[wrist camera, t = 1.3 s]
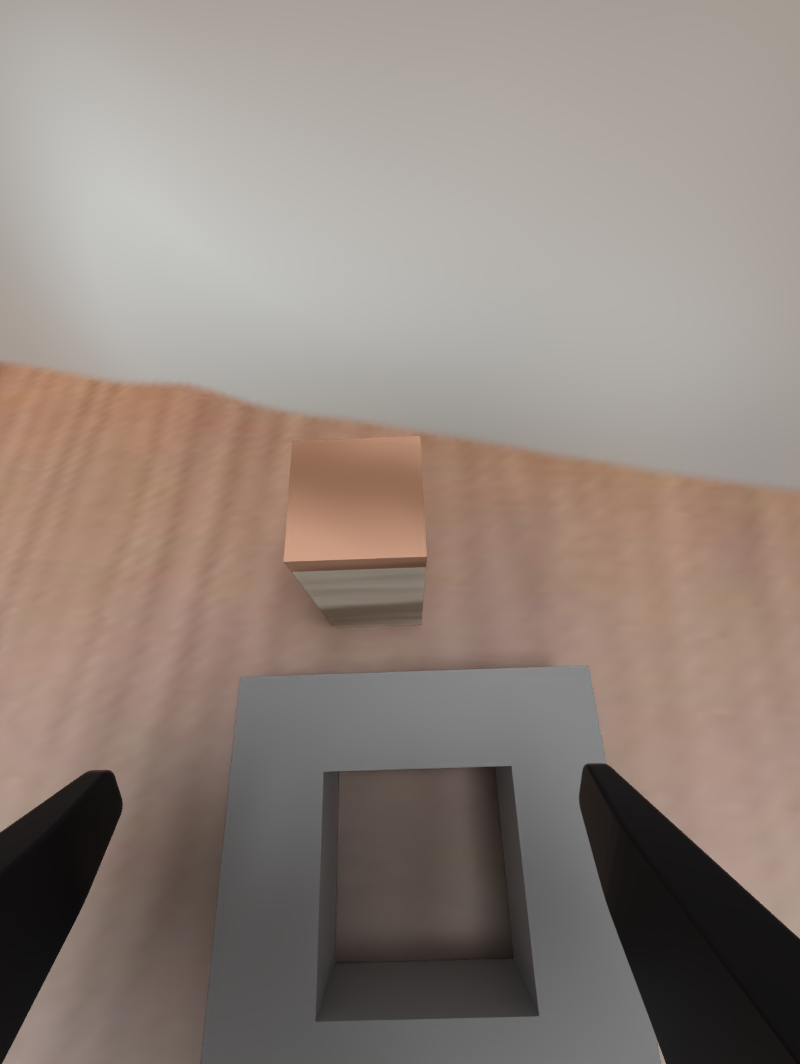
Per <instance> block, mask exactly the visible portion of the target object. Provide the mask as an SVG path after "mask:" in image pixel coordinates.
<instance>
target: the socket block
mask: <svg viewBox="0 0 800 1064" xmlns="http://www.w3.org/2000/svg"><path fill="white" fill-rule="evenodd" d="M587 763H605V764H606V759H605V753H604V748H603V742H602V737H601V731H600V726H599V720H598V715H597V709H596V704H595V698H594V693H593V687H592V682H591V676H590V671H589V665H588V666H557V667H527V668H497V669H467V670H437V671H406V672H376V673H346V674H316V675H286V676H255V677H240V681H239V691H238V701H237V711H236V720H235V730H234V740H233V750H232V760H231V770H230V779H229V789H228V799H227V809H226V819H225V829H224V839H223V848H222V858H221V868H220V878H219V888H218V898H217V907H216V917H215V927H214V937H213V947H212V957H211V966H210V976H209V986H208V996H207V1006H206V1016H205V1025H204V1035H203V1045H202V1055H201V1064H661V1061H660V1055H659V1050H658V1044H657V1039H656V1035H655V1032H654V1030H653V1027H652V1024H651V1022H650V1019H649V1016H648V1014H647V1011H646V1008H645V1006H644V1003H643V1000H642V998H641V995H640V992H639V990H638V987H637V984H636V982H635V979H634V976H633V974H632V971H631V968H630V966H629V963H628V960H627V958H626V955H625V952H624V950H623V947H622V944H621V942H620V939H619V936H618V934H617V931H616V928H615V926H614V923H613V920H612V918H611V915H610V912H609V909H608V906H607V903H606V901H605V897H604V894H603V890H602V887H601V883H600V880H599V876H598V872H597V869H596V865H595V861H594V858H593V854H592V850H591V847H590V843H589V839H588V836H587V832H586V828H585V825H584V821H583V817H582V814H581V810H580V805H579V791H580V784H581V777H582V770H583V767H584V765H585V764H587ZM493 766H495V773H496V783H497V793H498V804H499V814H500V824H501V834H502V845H503V855H504V865H505V875H506V886H507V896H508V906H509V916H510V926H511V937H512V947H513V957H514V959H478V960H439V961H400V962H361V963H335V941H336V891H337V841H338V791H339V771H363V770H395V769H428V768H461V767H493Z"/></svg>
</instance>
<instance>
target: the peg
mask: <svg viewBox="0 0 800 1064" xmlns="http://www.w3.org/2000/svg"><path fill="white" fill-rule="evenodd" d="M426 559H427V553H426V534H425V516H424V498H423V480H422V461H421V443H420V436H410V437H385V438H359V439H334V440H309V441H292V454H291V467H290V481H289V495H288V508H287V522H286V536H285V549H284V563H285V564H286V566H287V567H288V568H289V569H290V571H291V572H292V573H293V575H294V576H295V577H296V579H297V580H298V581H299V582H300V584H301V585H302V586H303V588H304V589H305V590H306V592H307V593H308V594H309V595H310V597H311V598H312V599H313V601H314V602H315V603H316V605H317V606H318V607H319V609H320V610H321V611H322V612H323V614H324V615H325V616H326V618H327V619H328V620H329V622H330V623H331V624H332V625H333V627H334V628H339V627H368V626H397V625H421V623H422V610H423V597H424V585H425V572H426Z"/></svg>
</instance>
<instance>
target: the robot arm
mask: <svg viewBox="0 0 800 1064" xmlns="http://www.w3.org/2000/svg"><path fill="white" fill-rule="evenodd" d="M579 805H580V810H581V814H582V817H583V821H584V825H585V828H586V832H587V836H588V839H589V843H590V847H591V850H592V854H593V858H594V861H595V865H596V869H597V872H598V876H599V880H600V883H601V887H602V890H603V894H604V897H605V901H606V903H607V906H608V909H609V912H610V915H611V918H612V920H613V923H614V926H615V928H616V931H617V934H618V936H619V939H620V942H621V944H622V947H623V950H624V952H625V955H626V958H627V960H628V963H629V966H630V968H631V971H632V974H633V976H634V979H635V982H636V984H637V987H638V990H639V992H640V995H641V998H642V1000H643V1003H644V1006H645V1008H646V1011H647V1014H648V1016H649V1019H650V1022H651V1024H652V1027H653V1030H654V1032H655V1035H656V1038H657V1040H658V1043H659V1046H660V1048H661V1051H662V1054H663V1056H664V1059H665V1062H666V1064H800V939H799V938H798V937H797V936H796V935H795V934H794V933H793V932H792V931H791V930H789V929H788V928H787V927H786V926H785V925H784V924H783V923H782V922H781V921H780V920H778V919H777V918H776V917H775V916H774V915H773V914H772V913H771V912H770V911H769V910H767V909H766V908H765V907H764V906H763V905H762V904H761V903H760V902H759V901H758V900H756V899H755V898H754V897H753V896H752V895H751V894H750V893H749V892H748V891H747V890H745V889H744V888H743V887H742V886H741V885H740V884H739V883H738V882H737V881H736V880H734V879H733V878H732V877H731V876H730V875H729V874H728V873H727V872H726V871H725V870H723V869H722V868H721V867H720V866H719V865H718V864H717V863H716V862H715V861H714V860H712V859H711V858H710V857H709V856H708V855H707V854H706V853H705V852H704V851H703V850H702V849H700V848H699V847H698V846H697V845H696V844H695V843H694V842H693V841H692V840H691V839H689V838H688V837H687V836H686V835H685V834H684V833H683V832H682V831H681V830H680V829H678V828H677V827H676V826H675V825H674V824H673V823H672V822H671V821H670V820H669V819H667V818H666V817H665V816H664V815H663V814H662V813H661V812H660V811H659V810H658V809H656V808H655V807H654V806H653V805H652V804H651V803H650V802H649V801H648V800H647V799H645V798H644V797H643V796H642V795H641V794H640V793H639V792H638V791H637V790H636V789H634V788H633V787H632V786H631V785H630V784H629V783H628V782H627V781H626V780H625V779H623V778H622V777H621V776H620V775H619V774H618V773H617V772H616V771H615V770H614V769H612V768H611V767H610V766H609V765H607V764H605V763H587V764H585V765H584V767H583V770H582V777H581V784H580V791H579ZM122 806H123V803H122V797H121V794H120V791H119V788H118V785H117V781H116V778H115V775H114V773H113V772H112V771H110V770H92V771H88V772H86V773H84V774H83V775H81V776H80V777H78V778H77V779H76V780H74V781H73V782H71V783H70V784H69V785H67V786H66V787H64V788H63V789H61V790H60V791H59V792H57V793H56V794H54V795H53V796H52V797H50V798H49V799H47V800H46V801H44V802H43V803H42V804H40V805H39V806H37V807H36V808H34V809H33V810H32V811H30V812H29V813H27V814H26V815H25V816H23V817H22V818H20V819H19V820H17V821H16V822H15V823H13V824H12V825H10V826H9V827H7V828H6V829H5V830H3V831H2V832H0V1064H2V1063H3V1061H4V1059H5V1057H6V1055H7V1053H8V1051H9V1049H10V1047H11V1045H12V1043H13V1041H14V1039H15V1037H16V1035H17V1033H18V1031H19V1029H20V1028H21V1026H22V1024H23V1022H24V1020H25V1018H26V1016H27V1014H28V1012H29V1010H30V1008H31V1006H32V1004H33V1002H34V1000H35V998H36V996H37V994H38V992H39V991H40V989H41V987H42V985H43V983H44V981H45V979H46V977H47V975H48V973H49V971H50V969H51V967H52V965H53V963H54V961H55V959H56V957H57V955H58V954H59V952H60V950H61V948H62V946H63V944H64V942H65V940H66V938H67V936H68V934H69V932H70V930H71V928H72V926H73V924H74V922H75V920H76V918H77V916H78V914H79V912H80V910H81V908H82V906H83V904H84V902H85V899H86V897H87V895H88V893H89V890H90V888H91V886H92V883H93V881H94V878H95V876H96V874H97V871H98V869H99V866H100V864H101V861H102V859H103V857H104V854H105V852H106V849H107V847H108V844H109V842H110V840H111V837H112V835H113V832H114V830H115V828H116V825H117V823H118V820H119V818H120V815H121V812H122Z"/></svg>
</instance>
